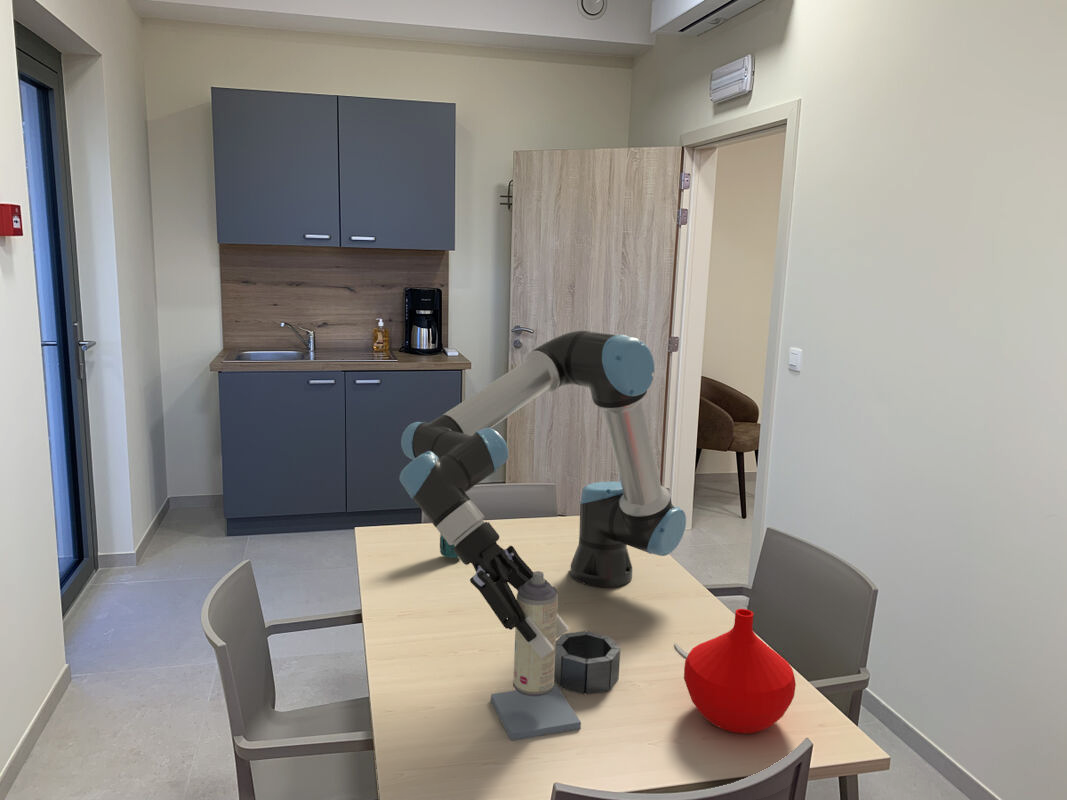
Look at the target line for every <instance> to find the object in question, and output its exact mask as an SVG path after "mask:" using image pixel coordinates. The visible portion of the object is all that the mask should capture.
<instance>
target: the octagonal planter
mask: <svg viewBox="0 0 1067 800" xmlns="http://www.w3.org/2000/svg"><path fill="white" fill-rule="evenodd" d="M620 661H621V647H620V646H619V645H618V644H617V643H616V642H615V640H614V639H612V637H610V636H608V635H604V634H600V633H598V632H597V633H596V632H593V631H589V630H582V631H573V632H565V633H564V634H563V635H561V636H560V637H559V638H557V639H556V649H555V671H554V681H555V682H556V683H557V686H558V687H560V688H561V689H563V690H568V691H570V692H574V693H577V694H580V695H581V694H582V695H594V694H600V693H605V692H610V691H611V690H612V689H613V687H614V686H615V685H616V683H617V682H618V681H619V677H620Z"/></svg>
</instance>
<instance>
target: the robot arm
mask: <svg viewBox="0 0 1067 800" xmlns="http://www.w3.org/2000/svg"><path fill="white" fill-rule="evenodd" d="M524 359H525V360H524V361H523V362H522V363H520V364H519V365H517V366H516V367H514V368H513V369H511V370H509V371H507V372H506V373H505V374H503V375H502V376H500V377H498V378H497V379H496V380H494V381H492V382H491V383H490V384H488V385H486V386H484V387H483V388H481V390H479V391H477V392H476V393H474V394H473V395H471V396H469V397H467V398H466V399H465V400H463V401H462V402H460V403H459V404H457V405H455V406H454V407H452V408H451V409H449V410H448V411H446V412H444V413H443V414H442V415H440V416H439V417H437V418H436V419H434V420H432V421H431V422H427V421H416V422H412V423H411V424H409V425H408V426H406V428H405V429H404V430H403V433H402V435H401V439H400V440H401V441H400V444H401V445H400V446H401V450H402V452H403V454H404V455H405V456H406V457H407V458H409V459H411V460H412V461H410V462H409V463H408V464H406V466H405V467H404V468H403V469H402V470H401V472H400V473H399V481H400V484H401V485H402V486H403V488H404V489H405V491H406V492H407V494H408V495H409V496H410V499H411V500H413V501H414V503H416V504H417V506H418V507H419V508H420V510H421V511H422V512H423V513H424V514H425V516H426V517H427V518H428V520H429V521H430V522H431V523H432V524H433V526H434V527H435V528H436V530H437V531H438V532H439V534H440V533H441V535H442V536H443V537H444V539H445V540H446V541H447V542H448V544H449V545H453V544H454V546H455V547H454V552H455V553H456V554H457V556H458V557H457V558H458V559H460V561H461V562H462V563H463V564H464V565H465V566H467V565H470V564H471V565H472V566H473V568H474V571H475V574H474V575H473V576H472V577H470V578H469V582H470V583H471V585H473V586H474V587H475V588H476V589H477V590H478V591H479V592H480V594H481V596H482V597H483V599H484V600H485V601H486V603H487V604H488V606H489V607H490V609H491V610H492V611H493V613H494V615H495V616H496V618H497V619H498V620H499V622H500V624H502V626H503V627H504V628H505V629H507V630H510V631H511V630H513V629H515V627H516V628H517V629H518V630H519V632H520V633H521V634H522V635H523V637H524V638H525V639H526V641H528V642H529V644H530V645H531V646H532V648H533V649H534V650H535V651H536V653H537V654H538V655H539V656H540V658H541V659H542V658H543V657H545V656H546V655H547V654H549V653H550V652H551V651H553V650H554V647H553V646H552V644H551V643H550V642H549V640H548V639H547V638H546V637H545V635H544V634H543V633H542V632H541V630H540V629H539V628H538V627H537V625H536V624H535V623H534V621H533V620H532V619H531V618H530V617H529V616H528V617H527V618H526V619H525V615H524V613H523V611H522V609H521V607H520V606H519V604H518V602H517V597H516V596H515V595H514V593H513V590H512V589H511V587H510V585H511V586H512V587H513V588H514V589H515V590H516V591H518V588H519V587H520V586H522V585H524V584H525V583H526V582H527V581H529V580H530V579H531V578H533V572H534V571H533V570H532V569H531V568H530V567H529V566H528V564H527V563H526V562H525V561H524V560H523V559H522V557H520V555H519V554H518V551H516V549H515V547H514V546H513V545H509V546H508V547H507V548H505V549H504V548H503V547H502V546H500V545H499V544H498V543H497V542H498V541H499V540H500V535H499V533H498V532H497V531H496V529H495V528H494V527H493V526H492V525H491V523H490V521H489V522H488V521H484V519H485V515H484V514H483V513H482V512H481V511H480V509H479V508H478V507H477V506H476V504H475V503H474V502H473V501H472V499H471V498H470V497H469V496H468V494H467V492H468V491H470V490H471V489H472V488H473V487H475V486H476V485H479V483H481V482H482V481H483V480H484V479H487V478H488V477H489V476H491V475H492V474H494V473H496V471H497V470H498V469H499V468H500V467H502V466H503V465H504V464H505V463H506V462H508V459H509V455H510V454H509V453H510V451H509V449H508V445H507V442H506V440H505V439H504V438H503V436H502V435H501V434H500V433H499V432H498V431H496V430H495V429H493V428H494V427H495V426H496V425H498V424H500V423H501V422H502V421H504V420H505V419H507V418H508V417H510V416H511V415H512V414H514V413H516V412H517V411H519V410H520V409H521V408H522V407H524V406H525V405H527V404H529V403H531V402H532V401H533V400H534V399H535V398H537V397H539V396H540V395H542V394H543V393H544V392H547V393H548V392H549V393H552V392H554V391H556V390H558V389H559V388H561V387H563V386H567V385H568V386H569V385H573V386H581V387H586V388H589V390H590V393H591V398H592V401H593V404H594V405H595V406H596V408H597V407H598V408H600V409H602V412H603V415H604V421H605V425H606V430H607V432H608V435H609V437H608V438H609V441H610V445H611V449H612V453H613V457H614V461H615V464H616V469H617V472H618V473H617V474H618V477H619V481H599V482H593V483H589V484H587V485H586V486H584V487H583V488H582V491H581V494H580V498H581V499H580V501H579V531H578V533H579V535H578V536H579V537H578V544H577V547H576V550H575V552H574V556H573V557H572V560H571V561H570V562H571V563H570V572H569V573H570V576H571V577H572V579H574V580H576V582H579V583H581V584H584V585H587V586H591V587H599V588H615V587H620V586H624V585H626V584H628V583H629V582H631V581H632V579H633V566H632V565H633V564H632V561H631V557H630V554H629V551H628V546H629V547H632V548H634V549H637V550H640V551H642V552H646V553H648V554H651V555H654V556H655V555H656V556H660V557H664V556H668V555H669V554H671V553H672V552H673V551H675V550H676V549H677V547H679V544H680V543H681V541H682V539H683V537H684V533H685V530H686V528H687V527H686V525H687V516H686V515H687V514H686V513H685V511H684V509H682V508H681V507H679V506H674V505H673V503H672V498H671V494H670V491H669V490H668V489H667V488H666V487H665V486H663V485H661V479H660V474H659V470H658V466H657V462H656V457H655V452H654V448H653V441H652V439H651V433H650V429H649V425H648V421H647V420H648V419H647V416H646V412H645V411H646V410H645V406H644V402H643V400H644V399H645V397H646V396H647V394H648V390H649V388H650V387H651V385H652V382H653V380H654V376H653V374H655V361H654V357H653V355H652V352H651V350H650V348H649V347H648V345H647V343H645V342H643V341H642V340H640V339H639V338H636V337H631V336H628V335H626V334H620V333H619V334H611V333H602V332H596V331H595V332H594V331H588V330H575V331H570V332H567V333H563V334H561V335H559V336H557V337H554V338H553V339H550V340H549V341H546V342H545V343H543V344H541V345H540V346H538V347H536V348H535V349H533V350H531V351H530V352H528V354H526V356H525V358H524ZM516 614H517V615H516ZM569 630H570V627H568V625H567V624H566V623H565V621H564V620H563V619H562V618H561V616H560V615H559V614H558V613H557V628H556V639H559V638H560V637H561V636H562V635H563V634H566V633H568V631H569Z"/></svg>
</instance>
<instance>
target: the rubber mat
mask: <svg viewBox="0 0 1067 800" xmlns="http://www.w3.org/2000/svg"><path fill="white" fill-rule="evenodd" d="M490 701H491V703H492V705H493V708H494V710H495V711H496V714H497V716H498V717H499V720H500V721H501V723H502V725H503V727H504V729H505V731H506V733H507V735H508V737H509V739H510V741H515V740H523V739H527V738H533V737H540V736H544V735H545V736H546V735H550V734H551V735H552V734H557V733H563V732H568V731H574V730H580V729H581V728H582V727H581V725H582V722H581V721H582V720H580V719H579V717H578V715H577V714H576V712H575V711H574V709H573V708H572V707H571V705H570V704H569V702H568V701H567V699H566V697H565V696H564V695H563V693H562V692H561V690H560V689H559V686H558V685H557V684H556V683H554V688H553V690H552V691H551V692H550V693H548V694H546V695H543V696H536V697H534V696H527V695H523V694H521V693H519V692H517V691H516V690H515V689H514V690H510V691H509V690H508V691H502V692H495V693H491V694H490Z"/></svg>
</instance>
